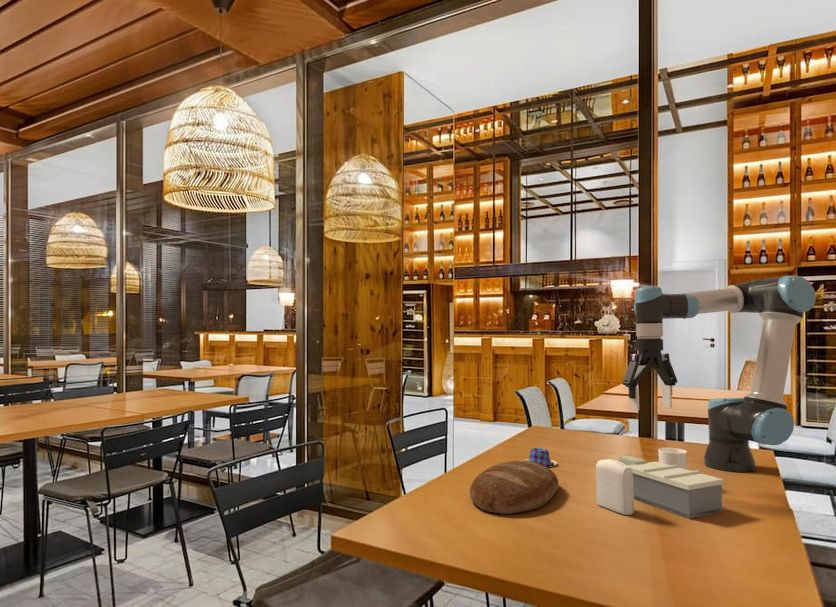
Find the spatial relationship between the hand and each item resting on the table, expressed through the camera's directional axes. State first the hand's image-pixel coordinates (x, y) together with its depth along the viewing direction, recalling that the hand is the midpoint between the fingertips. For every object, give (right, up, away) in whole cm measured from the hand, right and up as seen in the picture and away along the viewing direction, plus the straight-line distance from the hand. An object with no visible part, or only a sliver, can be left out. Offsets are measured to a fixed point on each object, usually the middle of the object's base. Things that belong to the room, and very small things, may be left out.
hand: (651, 408), depth 162 cm
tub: (-3, -21, -20) cm, 29 cm away
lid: (-4, -16, -17) cm, 23 cm away
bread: (-43, -23, -12) cm, 50 cm away
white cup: (+6, -23, -1) cm, 23 cm away
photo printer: (-20, -22, -24) cm, 38 cm away
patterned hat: (-28, -24, +24) cm, 44 cm away
